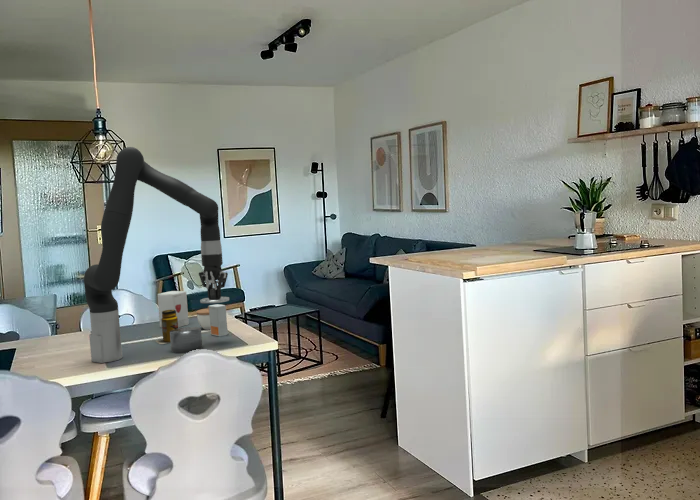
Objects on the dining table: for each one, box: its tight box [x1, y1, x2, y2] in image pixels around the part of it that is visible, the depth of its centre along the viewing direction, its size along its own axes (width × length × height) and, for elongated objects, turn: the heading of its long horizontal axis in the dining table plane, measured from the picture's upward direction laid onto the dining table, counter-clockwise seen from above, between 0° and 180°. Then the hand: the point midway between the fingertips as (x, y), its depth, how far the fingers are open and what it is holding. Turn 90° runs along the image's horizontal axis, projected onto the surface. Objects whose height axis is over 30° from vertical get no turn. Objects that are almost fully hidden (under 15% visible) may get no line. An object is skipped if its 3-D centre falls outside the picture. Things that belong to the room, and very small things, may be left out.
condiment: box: [155, 310, 179, 345], centre depth 237 cm, size 7×8×12 cm
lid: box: [199, 287, 230, 305], centre depth 227 cm, size 11×11×5 cm
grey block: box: [170, 326, 203, 354], centre depth 222 cm, size 11×11×7 cm
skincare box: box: [208, 303, 228, 338], centre depth 243 cm, size 6×4×12 cm
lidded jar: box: [196, 305, 211, 331], centre depth 258 cm, size 11×11×9 cm
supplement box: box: [157, 290, 190, 329], centre depth 267 cm, size 9×9×15 cm
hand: (214, 298), depth 228 cm, fingers closed on lid, 3 cm apart
